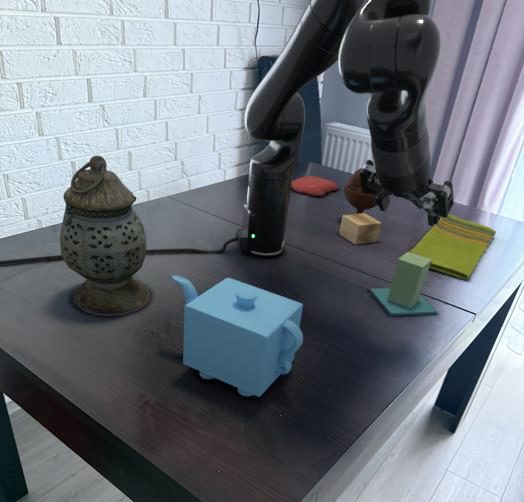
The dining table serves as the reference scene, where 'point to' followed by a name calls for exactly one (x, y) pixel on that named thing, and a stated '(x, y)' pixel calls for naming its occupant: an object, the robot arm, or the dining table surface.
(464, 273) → the dish towel
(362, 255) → the dining table surface
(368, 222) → the birch block
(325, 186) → the patty
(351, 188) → the ice cream bowl
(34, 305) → the dining table surface
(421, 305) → the mat
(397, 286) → the green block
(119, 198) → the lantern
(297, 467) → the dining table surface
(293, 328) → the teapot
